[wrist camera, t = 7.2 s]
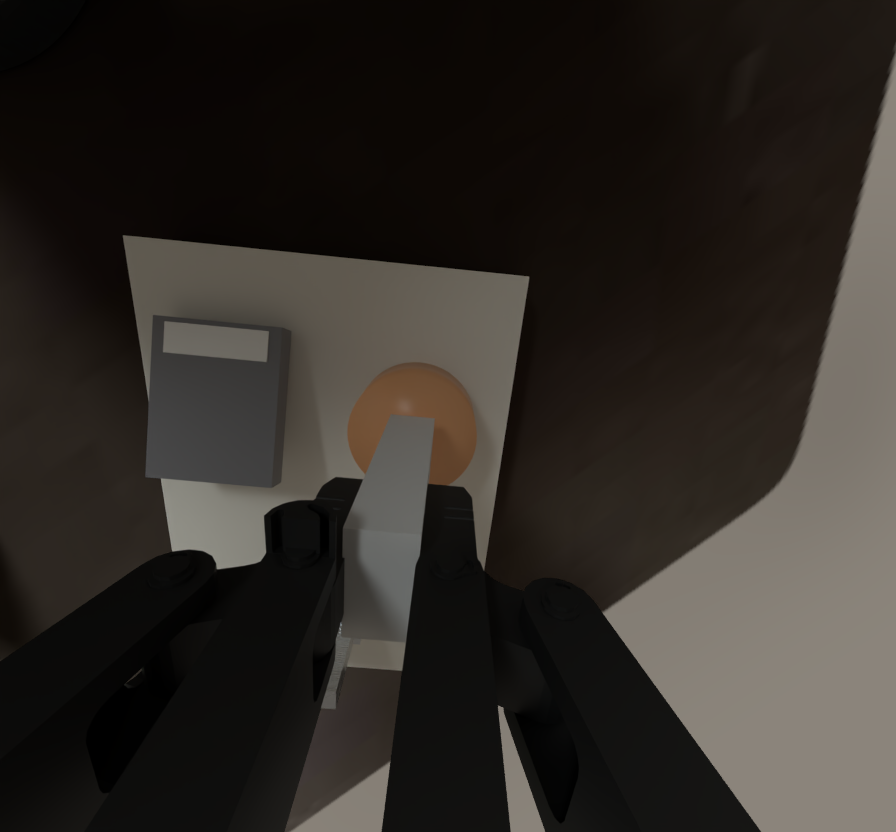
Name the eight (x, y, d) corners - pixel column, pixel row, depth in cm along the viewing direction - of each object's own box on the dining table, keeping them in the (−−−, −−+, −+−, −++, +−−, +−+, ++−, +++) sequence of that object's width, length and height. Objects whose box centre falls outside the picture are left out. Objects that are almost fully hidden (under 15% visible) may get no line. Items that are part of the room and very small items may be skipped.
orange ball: (373, 343, 19) (348, 368, 14) (476, 353, 19) (484, 381, 15) (370, 438, 21) (346, 488, 16) (465, 447, 21) (469, 499, 16)
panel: (171, 240, 19) (112, 234, 16) (517, 275, 19) (531, 276, 16) (216, 612, 26) (183, 662, 23) (466, 632, 27) (468, 684, 23)
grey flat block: (169, 319, 17) (151, 314, 16) (291, 330, 17) (281, 327, 16) (162, 472, 17) (144, 477, 16) (281, 482, 18) (270, 488, 17)
